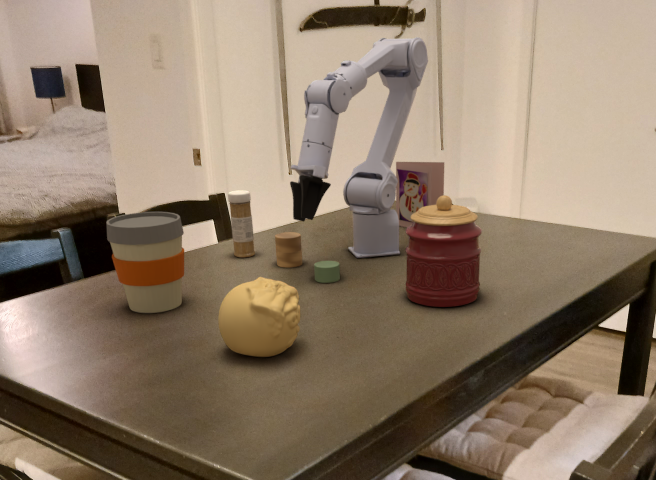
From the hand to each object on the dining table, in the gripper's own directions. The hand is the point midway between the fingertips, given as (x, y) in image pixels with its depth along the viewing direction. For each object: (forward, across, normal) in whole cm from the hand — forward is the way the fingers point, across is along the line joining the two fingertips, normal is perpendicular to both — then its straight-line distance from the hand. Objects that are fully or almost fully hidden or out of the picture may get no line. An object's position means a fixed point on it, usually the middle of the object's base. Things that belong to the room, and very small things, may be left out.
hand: (302, 219), depth 142 cm
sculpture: (+23, +30, -8) cm, 39 cm away
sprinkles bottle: (+8, -23, -6) cm, 25 cm away
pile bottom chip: (+8, -13, +2) cm, 15 cm away
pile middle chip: (+6, -12, +1) cm, 13 cm away
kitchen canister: (+9, +17, +24) cm, 31 cm away
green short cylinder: (+10, 0, +7) cm, 12 cm away
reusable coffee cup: (+21, +4, -23) cm, 31 cm away
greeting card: (-8, -33, +35) cm, 49 cm away
